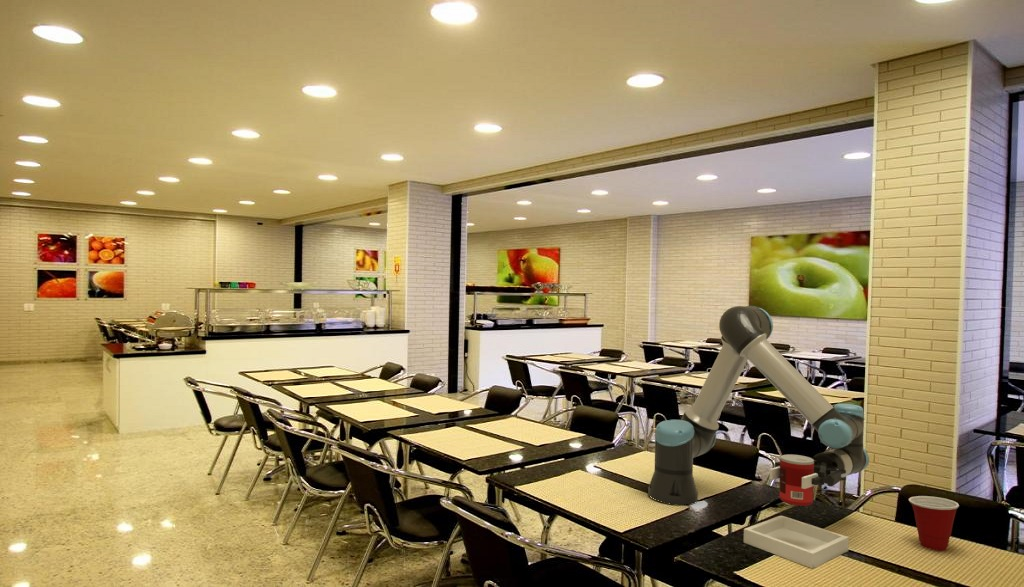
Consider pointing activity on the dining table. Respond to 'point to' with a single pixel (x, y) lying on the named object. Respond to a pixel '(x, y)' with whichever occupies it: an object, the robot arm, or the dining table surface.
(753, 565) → the dining table surface
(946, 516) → the plastic cup
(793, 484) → the canned food
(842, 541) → the tray
